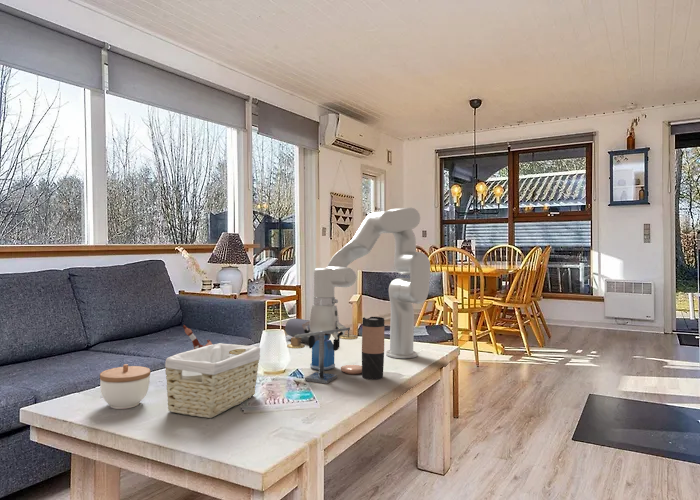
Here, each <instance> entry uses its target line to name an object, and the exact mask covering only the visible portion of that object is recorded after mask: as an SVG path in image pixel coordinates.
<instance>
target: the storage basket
mask: <svg viewBox="0 0 700 500" xmlns="http://www.w3.org/2000/svg"><path fill="white" fill-rule="evenodd" d="M203 346H204V347H201V348H197V349H194V348H193V349H191V350H187V351H183V352H180V353H176V354H174V355H171V356H168V357H167V358H165V363H164V367H165V369H164V370H165V376H166V377H165V378H166V390H167V393H166V394H167V395H166V397H167V410H168V411H169V412H171V413H176V414H181V415H187V416H191V417H199V418H208V419H211V418H214V417H216V416H218V415H220V414H222V413H224V412H225V411H228V410H230V409H231V408H234V407H235V406H238V405H240V404H242V403H243V402H246V400H249V399H251V398H252V397H251V396H252V395H254V394H255V393H256V385H257V380H258V371H259V370H258V369H259V364H260V363H259V362H260V357H261V354H260V353H261V348H260V347H259V346H254V345H253V346H251V345H245V344H244V345H243V344H234V343H233V344H230V343H219V342H218V343H215V344H213V345H208V346H205V345H203ZM230 355H233V356H232V357H231V356H230ZM255 395H256V394H255ZM255 395H254V396H255ZM248 398H249V399H248ZM241 402H242V403H241Z"/></svg>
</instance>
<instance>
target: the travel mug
mask: <svg viewBox="0 0 700 500" xmlns="http://www.w3.org/2000/svg"><path fill="white" fill-rule="evenodd" d="M384 361H385V317H381V316H370V317H368V318H366V317H362V329H361V366H362V373H361V376H362V378H363V379H366V380H374V381H375V380H381V379H383V377H384Z"/></svg>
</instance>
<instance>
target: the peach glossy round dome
mask: <svg viewBox="0 0 700 500" xmlns="http://www.w3.org/2000/svg"><path fill="white" fill-rule="evenodd" d="M340 371H341V372H343V373H344V374H349V375H358V374H362V365H359V364H345V365H342V366H340Z"/></svg>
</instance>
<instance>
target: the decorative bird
mask: <svg viewBox="0 0 700 500" xmlns="http://www.w3.org/2000/svg"><path fill="white" fill-rule="evenodd" d="M182 328H183V329H184V333H185V334H186V335H187V336H188V337H189V339H190V341H191V342H192V346H193V350H194V349H197V348H201V347H204V346H208V345H214V344H213V343H212V341H211V340H210V339H207V340H206V341H207V343H205V345H204V344H203V345H202V344H201V343H200V342H199V340H198V338H197V336H196V335H195V334H194V333H193V330H192V329H191V328H189V327H187V326H186V325H185V324H183V326H182Z"/></svg>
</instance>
